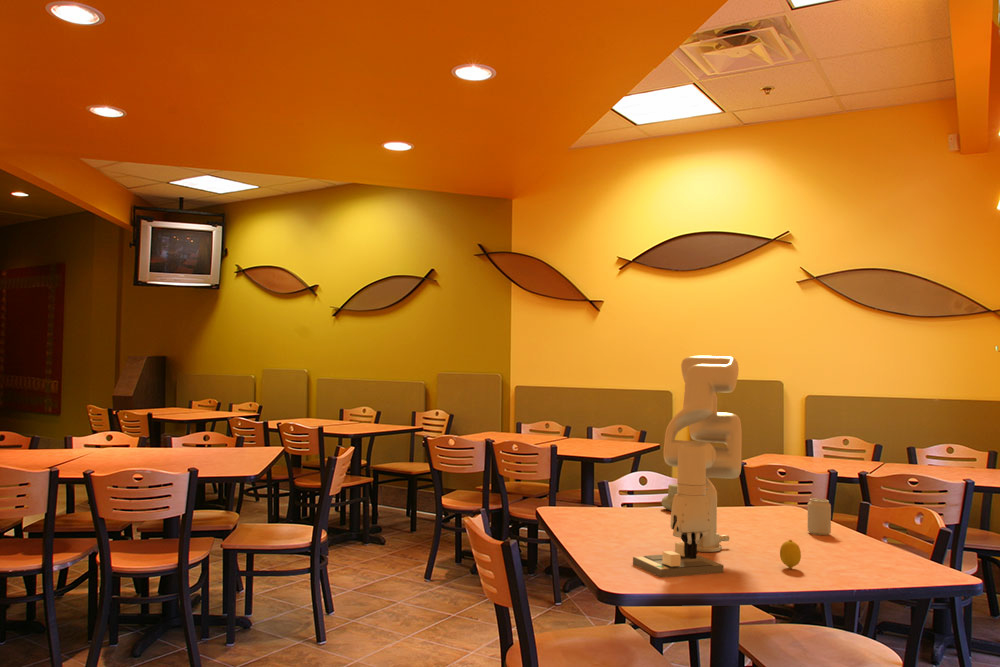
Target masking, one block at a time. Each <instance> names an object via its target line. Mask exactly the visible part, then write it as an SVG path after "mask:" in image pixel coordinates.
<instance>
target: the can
mask: <svg viewBox="0 0 1000 667" xmlns="http://www.w3.org/2000/svg"><path fill="white" fill-rule="evenodd" d="M831 520H832V505H831V503H830V501H829V500H828V499H825V498H809V501H808V502H807V531H808V532H809V534H810V533H811V535H813V534H814V536H820V535H827V536H829V534H831V532H832V529H831V528H832V525H831V524H832V521H831Z"/></svg>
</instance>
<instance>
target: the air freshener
mask: <svg viewBox="0 0 1000 667" xmlns="http://www.w3.org/2000/svg"><path fill="white" fill-rule="evenodd" d="M667 489H668V490H667V495H665V496H664V497H663V498H661V499H662V500H661V505H662V507H663V508H664V509H666V510H668V511H671V510H672V503H673V499H674V495H675V494H677V484H675V483H674V484H668V487H667Z"/></svg>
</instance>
